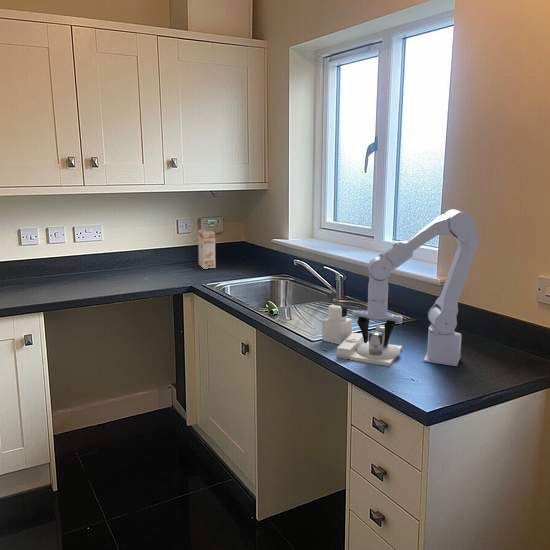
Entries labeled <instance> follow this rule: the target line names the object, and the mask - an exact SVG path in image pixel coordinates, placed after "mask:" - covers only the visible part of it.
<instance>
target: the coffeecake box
mask: <svg viewBox="0 0 550 550" xmlns="http://www.w3.org/2000/svg"><path fill="white" fill-rule="evenodd" d="M197 243H198V244H197V245H198V247H197V249H198V266H199V265H200V266H201V267H202V268H203V269H208V268H217V267H216V266H217V265H216V264H217V263H216V233H215V232H214V231H213V230H212V229H210V228H209V229H205V228H204V229H198V230H197ZM200 266H199V267H200ZM201 267H200V268H201ZM202 268H201V269H202ZM203 269H202V270H203Z"/></svg>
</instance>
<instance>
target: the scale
mask: <svg viewBox="0 0 550 550" xmlns="http://www.w3.org/2000/svg"><path fill="white" fill-rule="evenodd" d="M402 350H403V346H402V345H398V344H389V343H388V347H386V348H383V353H382V355H371V354H369V340H368V342H367V343H364V340H363V335H362V333H361V332H359V333H358V332H352V334H351V335H350V336H349V337H348V338H346V339H345V340H344V341H343V342H342V343H341V344H340V345H338V346H337V348H336V358H337V357H338V358H337V359H341V358H344V359H343V360H347V359H350V360H349V361H353V360H354V361H353V362H360V363H367V364H374V365H379V366H385V367H386V366H387V367H391V366H392V364H393V363H394V361H395V360H396V359H397V357H400V355H401V351H402Z"/></svg>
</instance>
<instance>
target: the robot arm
mask: <svg viewBox="0 0 550 550" xmlns="http://www.w3.org/2000/svg"><path fill="white" fill-rule="evenodd" d="M476 227H477V223H476V222H475V220H474V219H473V217H472V216H471V215H470V214H469V213H468V212H464V211H461V210H459V209H455V208H452V209H449V210H447V211H446V212H445V213H444V214H440V215H439V216H437V217H436V218H434V220H432V221H431V222H429V224H427V225H425V226H424V228H422V229H421V230H420V231H419V232H417V233H416V234H415V235H413V236H412V237H410V238H409V239H408V240H407V241H402V240H399V241H398V242H396V241H394V242H393V243H392V244H391V245H392V246H391V247H389V248H388V249H387V250H385V252H383V253H382V252H380V253H379V254H378V257H376V256H375V257H374V258H372V259H371V260H370V261H369V262H368V264H367V271H368V273H369V277H368V283H367V285H368V286H367V290H368V291H367V309H366V310H359V309H358V310H356V309H354V310H353V311H352V313H351V319H357V318H358V319H357V321H356V323H357V325H358V328H359V329H360V331H361V332H360V333H361V334H362V335H363V340H364V343H367V342H368V341H369V327H370V320H372V321H380V322H381V321H382V322H385V323H384V324H383V325H384V328H385V338H384V346H387V345H388V344H389V340H390V338H391V335H392V333H393V330H394V328H395V326H396V324H399V325H401V324H402V323H403V319H404V317H403V315H400V314H394V313H391V312H388V302H389V301H388V300H389V278H390V276H391V275H392V271H394V270H396V269H397V268H399V267H400V266H402V265H404V264H405V263H407V261H409V260H410V259H412V258H413V256H414V255H413V254H414V251H416V250H417V249H418V248H420V247H422V246H423V245H425V244H426V243H428V242H430V241H431V240H433V239H434V238H436V237H438V236H448V235H452V237H453V238H454V240H455V242H456V243H457V247H456V250H455V254H454V255H453V256H454V257H453V259H452V263H451V265H450V268H449V271H448V273H447V276H446V277H445V278H446V279H445V282H444V284H443V287H442V289H441V290H442V291H441V293H440V296H439V297H438V298H437V299H436V300H435V303H434V304H433V305H432V306H431V307H430V309H429V310H428V312H427V318H428V321H429V322H430V325H429V326H428V331H427V332H428V334H427V348H426V355H425V356H424V358H423V362H425V363H434V364H439V365H440V364H441V365H447V366H454V367H458V364H459V362H460V359H461V357H462V352H461V349H462V333H460V332H456V331H455V329H456V328H457V325H458V321H457V318H458V317H457V316H458V313H459V305H458V304H459V300H460V297H461V295H462V292H463V289H464V287H465V284H466V281H467V278H468V275H469V273H470V269H471V267H472V264H473V262H474V259H475V256H476V254H477V250H478V248H479V244H480V243H479V237H478V233H477V228H476Z"/></svg>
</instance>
